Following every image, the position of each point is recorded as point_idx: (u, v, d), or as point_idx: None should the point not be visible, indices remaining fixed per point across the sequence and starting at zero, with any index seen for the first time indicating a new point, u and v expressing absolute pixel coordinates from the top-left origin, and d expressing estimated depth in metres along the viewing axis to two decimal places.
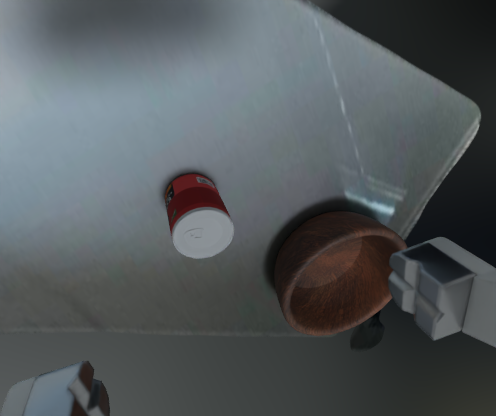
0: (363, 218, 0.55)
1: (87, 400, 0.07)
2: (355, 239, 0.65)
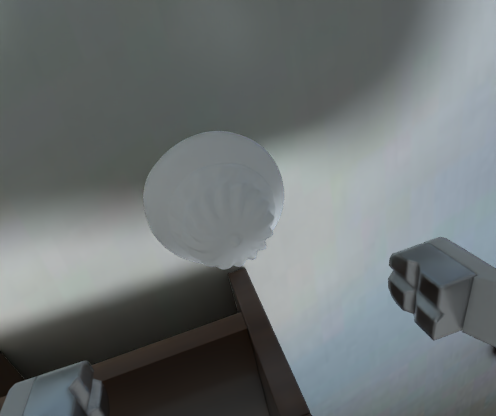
0: None
1: (87, 400, 0.07)
2: None
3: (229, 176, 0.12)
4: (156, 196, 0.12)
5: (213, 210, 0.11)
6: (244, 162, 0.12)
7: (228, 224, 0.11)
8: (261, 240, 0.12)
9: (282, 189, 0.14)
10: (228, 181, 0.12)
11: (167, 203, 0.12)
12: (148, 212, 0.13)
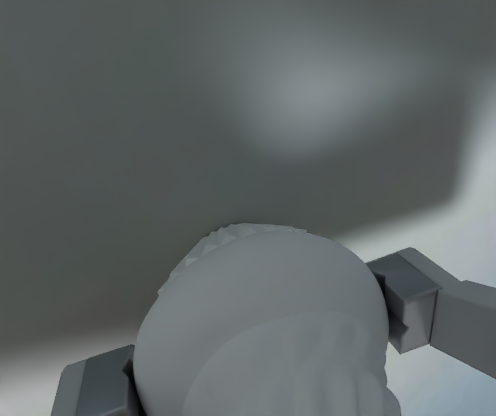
0: None
1: None
2: None
3: (316, 350, 0.06)
4: (159, 378, 0.06)
5: None
6: (339, 306, 0.06)
7: None
8: None
9: (388, 328, 0.08)
10: (318, 367, 0.05)
11: (182, 395, 0.06)
12: (142, 396, 0.06)
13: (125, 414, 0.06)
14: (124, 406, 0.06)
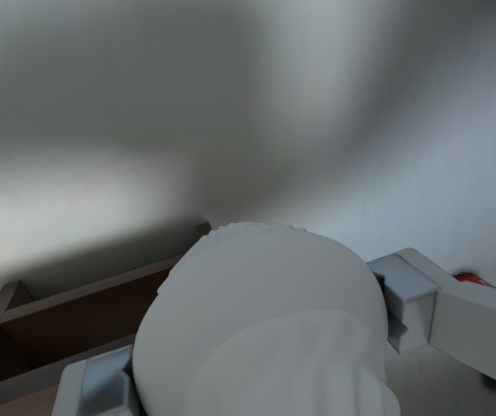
0: None
1: None
2: None
3: (315, 348, 0.06)
4: (159, 376, 0.06)
5: None
6: (339, 305, 0.06)
7: None
8: None
9: None
10: (317, 365, 0.05)
11: (181, 393, 0.06)
12: (141, 394, 0.06)
13: (126, 414, 0.06)
14: (125, 406, 0.06)
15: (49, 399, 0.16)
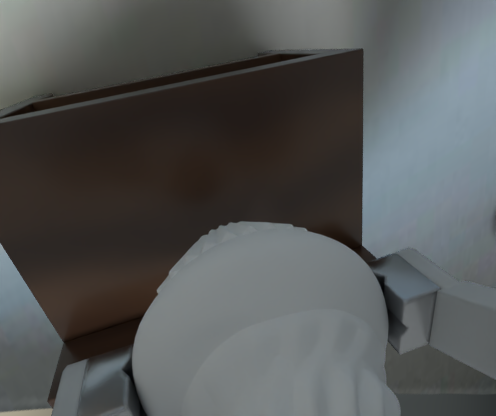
0: None
1: None
2: None
3: (315, 348, 0.06)
4: (158, 376, 0.06)
5: None
6: (339, 304, 0.06)
7: None
8: None
9: (388, 326, 0.08)
10: (317, 365, 0.05)
11: (181, 392, 0.06)
12: (140, 394, 0.06)
13: (126, 414, 0.06)
14: (125, 405, 0.06)
15: (106, 125, 0.12)
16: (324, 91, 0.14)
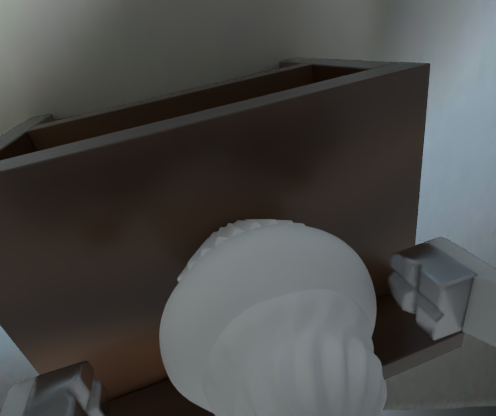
0: None
1: (87, 400, 0.07)
2: None
3: (312, 320, 0.07)
4: (183, 346, 0.07)
5: (296, 405, 0.06)
6: (331, 285, 0.07)
7: None
8: None
9: (376, 307, 0.09)
10: (313, 333, 0.07)
11: (202, 359, 0.07)
12: (167, 364, 0.08)
13: None
14: None
15: (119, 171, 0.09)
16: (381, 116, 0.11)
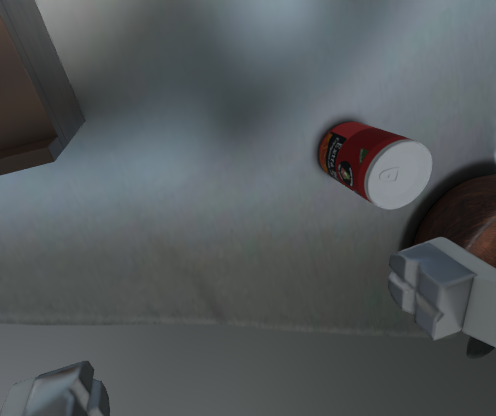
0: None
1: (87, 400, 0.07)
2: None
3: None
4: None
5: None
6: None
7: None
8: None
9: None
10: None
11: None
12: None
13: None
14: None
15: None
16: None
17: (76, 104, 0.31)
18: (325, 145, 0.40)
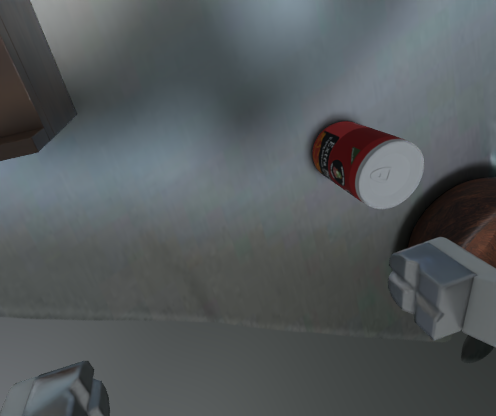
0: None
1: (87, 400, 0.07)
2: None
3: None
4: None
5: None
6: None
7: None
8: None
9: None
10: None
11: None
12: None
13: None
14: None
15: None
16: None
17: (67, 97, 0.31)
18: (318, 144, 0.40)
